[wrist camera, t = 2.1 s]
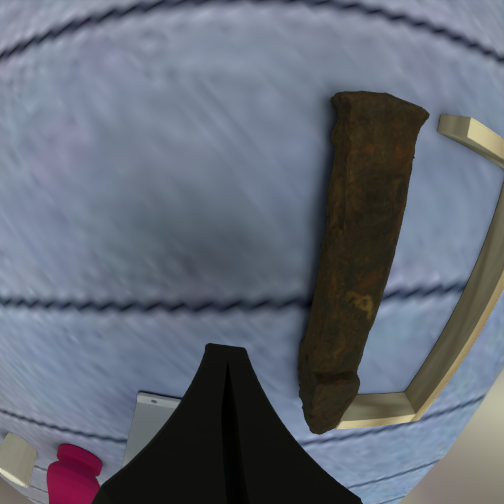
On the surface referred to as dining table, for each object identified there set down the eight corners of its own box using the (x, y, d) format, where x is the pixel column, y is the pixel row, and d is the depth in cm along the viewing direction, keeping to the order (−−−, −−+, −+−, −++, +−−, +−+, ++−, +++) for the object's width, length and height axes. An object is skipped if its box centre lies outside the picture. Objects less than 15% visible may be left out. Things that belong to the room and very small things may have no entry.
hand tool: (321, 88, 15) (360, 75, 9) (397, 108, 15) (455, 110, 10) (265, 394, 24) (271, 449, 19) (320, 393, 24) (333, 445, 19)
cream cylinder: (22, 451, 31) (10, 482, 24) (-3, 427, 28) (-18, 458, 21) (48, 459, 30) (37, 492, 24) (22, 433, 28) (6, 469, 21)
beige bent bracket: (328, 403, 24) (336, 429, 22) (440, 114, 15) (470, 117, 12) (407, 399, 26) (418, 420, 23) (517, 162, 16) (543, 170, 13)
